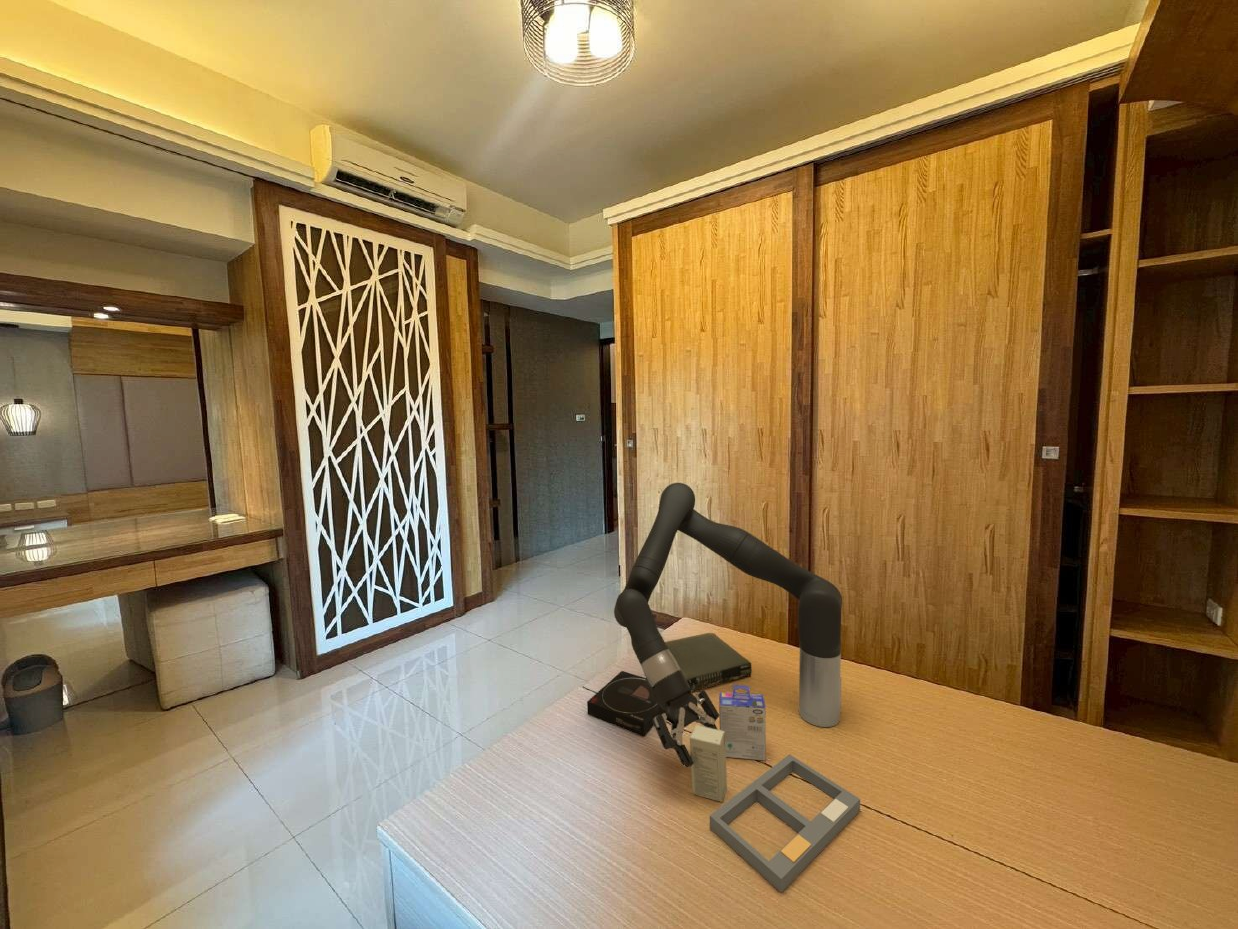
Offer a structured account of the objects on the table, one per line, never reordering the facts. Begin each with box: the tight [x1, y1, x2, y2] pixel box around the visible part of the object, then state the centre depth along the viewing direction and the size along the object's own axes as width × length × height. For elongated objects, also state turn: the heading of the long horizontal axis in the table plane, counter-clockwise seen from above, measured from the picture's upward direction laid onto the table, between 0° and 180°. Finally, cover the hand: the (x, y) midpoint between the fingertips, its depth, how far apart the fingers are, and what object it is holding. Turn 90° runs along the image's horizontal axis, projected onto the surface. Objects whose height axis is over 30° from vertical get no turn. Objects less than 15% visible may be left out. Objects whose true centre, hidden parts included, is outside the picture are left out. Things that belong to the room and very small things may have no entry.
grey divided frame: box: [709, 753, 861, 894], centre depth 88 cm, size 24×15×3 cm, turn 126°
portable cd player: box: [586, 670, 663, 738], centre depth 123 cm, size 16×17×4 cm
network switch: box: [665, 632, 752, 693], centre depth 140 cm, size 23×24×5 cm
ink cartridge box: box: [718, 684, 767, 761], centre depth 105 cm, size 10×6×14 cm, turn 80°
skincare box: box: [689, 724, 728, 803], centre depth 94 cm, size 6×4×12 cm
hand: (705, 755), depth 95 cm, fingers open, 8 cm apart
